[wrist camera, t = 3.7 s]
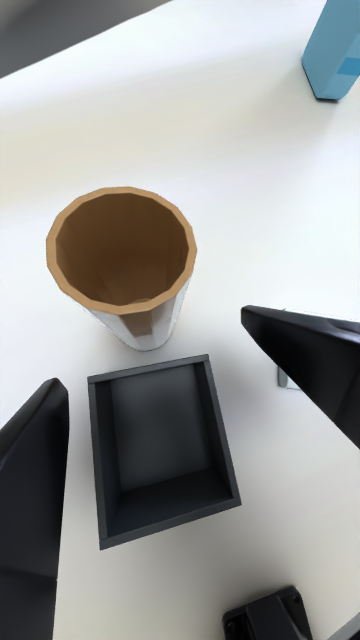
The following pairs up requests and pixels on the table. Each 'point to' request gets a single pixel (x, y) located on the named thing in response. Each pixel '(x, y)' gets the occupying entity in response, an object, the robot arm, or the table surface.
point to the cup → (124, 261)
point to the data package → (334, 50)
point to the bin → (158, 449)
